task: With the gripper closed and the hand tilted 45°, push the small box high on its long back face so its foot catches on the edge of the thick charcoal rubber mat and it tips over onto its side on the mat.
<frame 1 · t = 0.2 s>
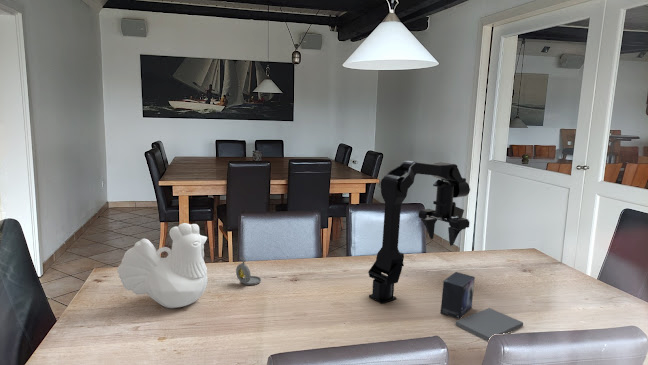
hand: (441, 242, 155), 14 cm above the table, tool pointing down, fingers open, 9 cm apart
mat: (489, 325, 124), on the table
pocket watch: (248, 283, 150), on the table
small box: (456, 311, 133), on the table
decorative rooster: (166, 303, 133), on the table
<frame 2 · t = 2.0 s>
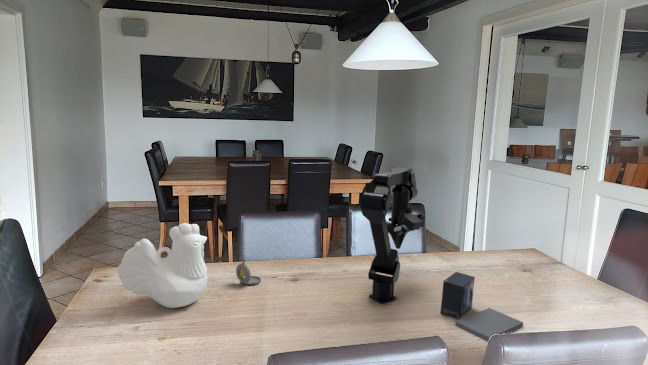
hand: (398, 248, 151), 13 cm above the table, tool pointing down, fingers closed
nothing on the table moved.
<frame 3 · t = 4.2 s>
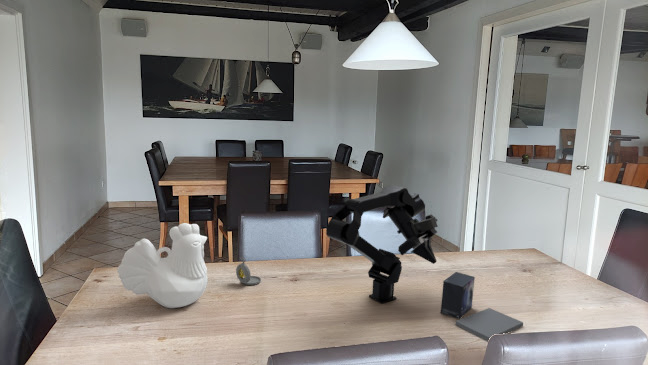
hand: (435, 262, 135), 14 cm above the table, tool tilted 45°, fingers closed
nothing on the table moved.
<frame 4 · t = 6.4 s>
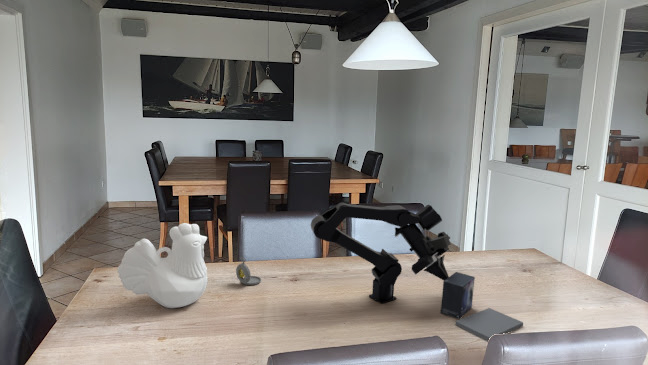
hand: (448, 281, 134), 9 cm above the table, tool tilted 45°, fingers closed
small box: (456, 311, 133), on the table, touching gripper
everything else where it was.
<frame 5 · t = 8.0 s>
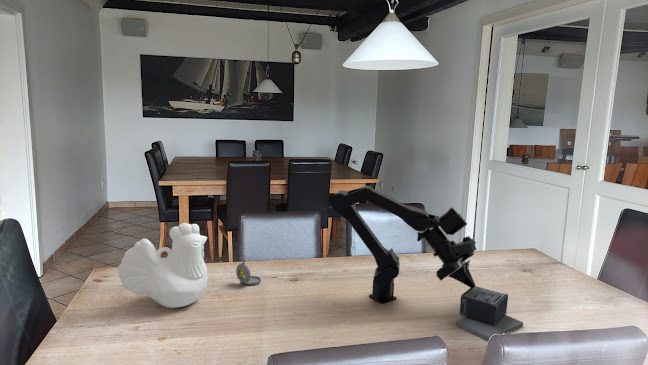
hand: (474, 287, 129), 9 cm above the table, tool tilted 45°, fingers closed
small box: (465, 299, 131), point 4 cm above the table, touching mat
everything else where it was.
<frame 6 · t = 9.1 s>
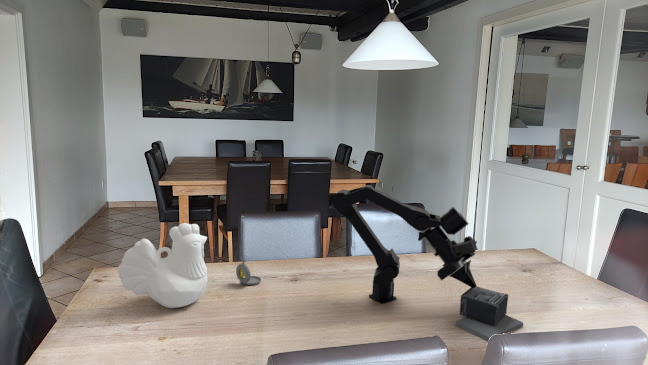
hand: (475, 287, 129), 9 cm above the table, tool tilted 45°, fingers closed
nothing on the table moved.
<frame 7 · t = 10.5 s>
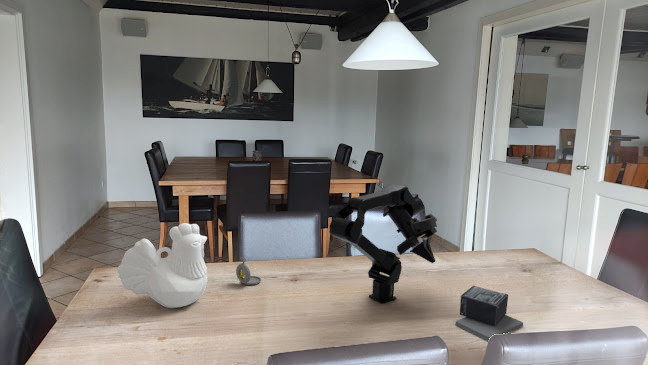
hand: (434, 262, 136), 14 cm above the table, tool tilted 45°, fingers closed
nothing on the table moved.
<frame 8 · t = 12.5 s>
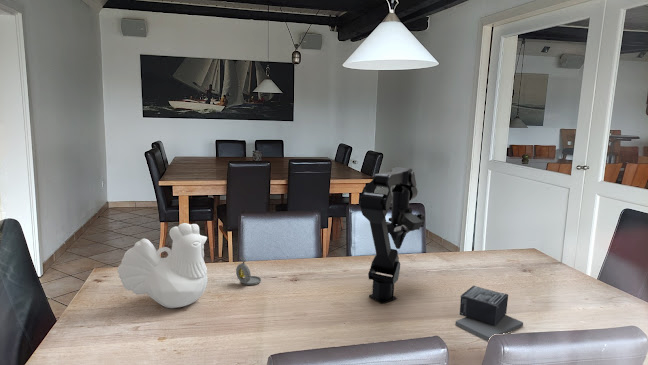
hand: (398, 248, 151), 13 cm above the table, tool pointing down, fingers closed
nothing on the table moved.
at the end: small box tilted 89°; small box inside the target area (2.7 cm from its centre), point 4.3 cm above the table; small box touching mat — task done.
